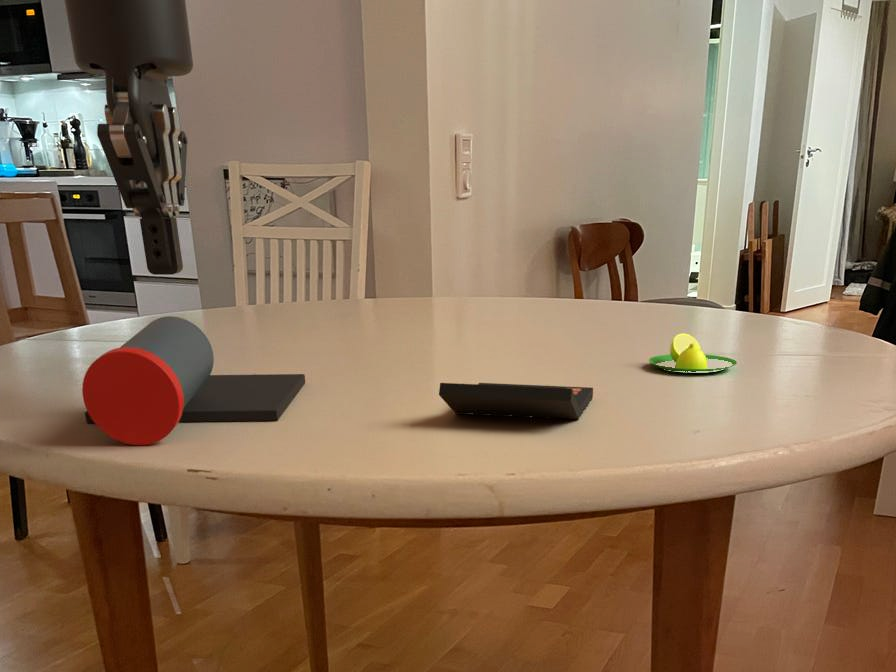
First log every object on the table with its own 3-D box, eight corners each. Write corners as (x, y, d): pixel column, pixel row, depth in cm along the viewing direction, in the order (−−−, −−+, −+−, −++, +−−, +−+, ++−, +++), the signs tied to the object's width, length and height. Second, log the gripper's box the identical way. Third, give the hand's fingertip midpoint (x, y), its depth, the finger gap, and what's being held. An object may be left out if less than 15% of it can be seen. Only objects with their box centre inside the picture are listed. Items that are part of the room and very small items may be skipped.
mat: (86, 423, 67) (83, 412, 67) (144, 385, 80) (142, 375, 79) (278, 421, 67) (276, 410, 67) (305, 383, 80) (304, 373, 80)
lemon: (631, 364, 87) (633, 333, 86) (701, 357, 90) (704, 327, 88) (681, 379, 80) (684, 345, 79) (754, 371, 83) (758, 339, 82)
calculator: (592, 398, 74) (594, 359, 72) (569, 433, 63) (571, 389, 62) (479, 393, 76) (479, 355, 74) (439, 426, 66) (438, 383, 64)
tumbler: (145, 396, 72) (95, 448, 61) (125, 314, 68) (70, 354, 58) (224, 392, 72) (188, 443, 61) (209, 309, 68) (168, 348, 58)
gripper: (100, 5, 65) (142, 266, 73) (22, -34, 54) (81, 283, 61) (206, 4, 66) (236, 265, 73) (152, -34, 54) (194, 282, 62)
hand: (166, 273), depth 67 cm, fingers closed
